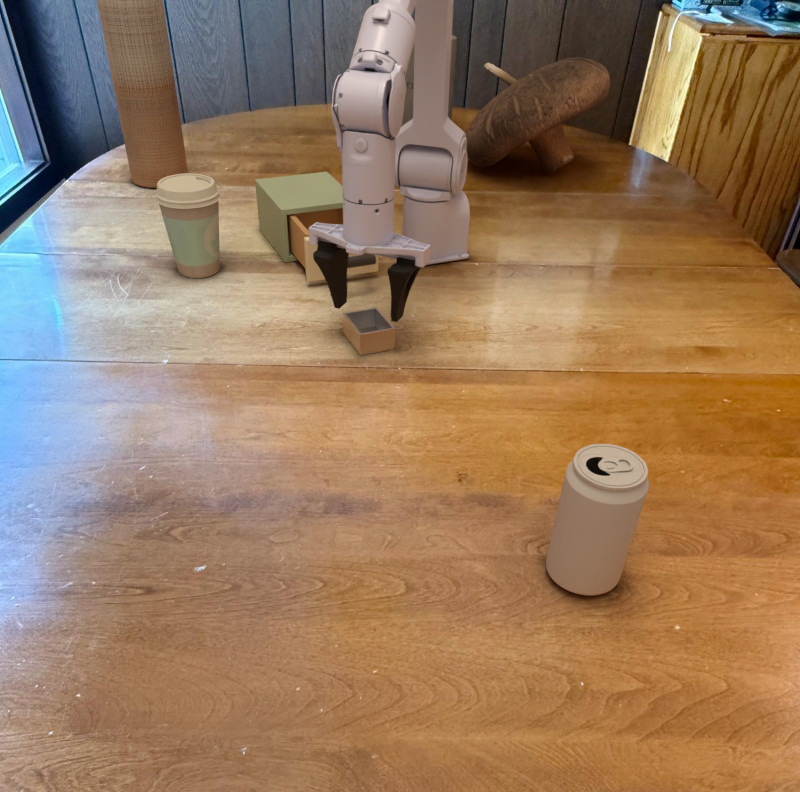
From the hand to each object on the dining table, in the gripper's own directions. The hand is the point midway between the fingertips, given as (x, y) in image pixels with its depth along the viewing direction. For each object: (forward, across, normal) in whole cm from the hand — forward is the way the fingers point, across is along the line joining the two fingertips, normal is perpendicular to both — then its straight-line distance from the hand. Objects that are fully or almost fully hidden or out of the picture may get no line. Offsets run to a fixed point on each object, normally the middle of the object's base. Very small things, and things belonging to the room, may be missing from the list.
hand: (368, 311), depth 94 cm
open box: (+4, 0, 0) cm, 4 cm away
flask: (+4, -30, +86) cm, 92 cm away
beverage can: (+4, +34, -29) cm, 45 cm away
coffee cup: (+4, -31, +8) cm, 32 cm away
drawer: (+3, -13, +16) cm, 21 cm away
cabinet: (+4, -22, +25) cm, 33 cm away
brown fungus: (+4, -2, +75) cm, 75 cm away
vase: (+4, -59, +37) cm, 69 cm away
